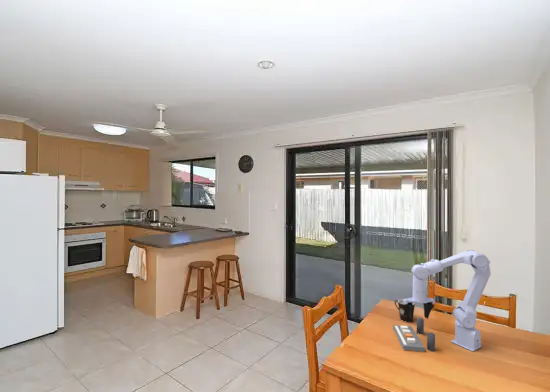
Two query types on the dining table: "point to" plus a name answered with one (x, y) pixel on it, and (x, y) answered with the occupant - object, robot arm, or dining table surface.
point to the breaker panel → (408, 338)
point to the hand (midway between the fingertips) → (418, 317)
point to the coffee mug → (404, 311)
